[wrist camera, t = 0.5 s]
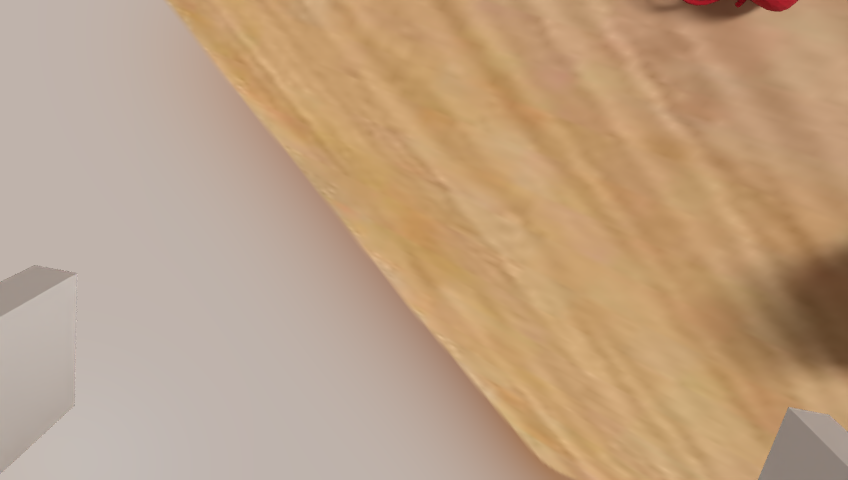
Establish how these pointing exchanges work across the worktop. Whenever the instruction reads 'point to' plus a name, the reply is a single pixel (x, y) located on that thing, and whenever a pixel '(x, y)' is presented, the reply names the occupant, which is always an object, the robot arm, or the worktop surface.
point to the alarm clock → (767, 0)
